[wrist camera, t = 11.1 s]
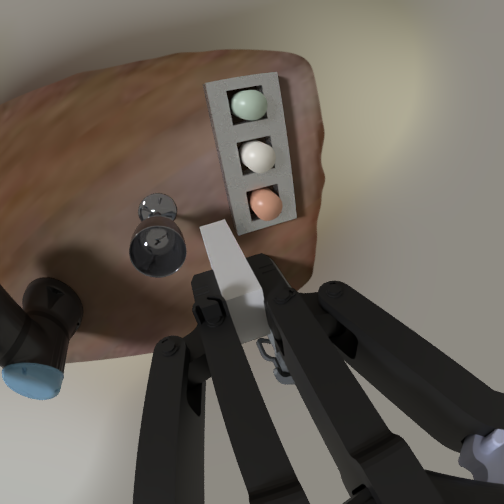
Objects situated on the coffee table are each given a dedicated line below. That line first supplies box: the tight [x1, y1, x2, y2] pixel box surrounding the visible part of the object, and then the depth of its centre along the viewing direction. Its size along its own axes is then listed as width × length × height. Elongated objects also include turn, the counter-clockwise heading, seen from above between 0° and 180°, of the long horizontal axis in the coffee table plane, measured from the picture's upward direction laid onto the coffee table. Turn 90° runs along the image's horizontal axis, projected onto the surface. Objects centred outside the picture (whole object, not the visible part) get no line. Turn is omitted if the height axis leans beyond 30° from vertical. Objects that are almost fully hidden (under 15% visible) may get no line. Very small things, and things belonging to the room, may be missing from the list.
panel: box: [203, 72, 297, 235], centre depth 48 cm, size 12×28×3 cm, turn 10°
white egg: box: [239, 139, 276, 173], centre depth 46 cm, size 5×5×5 cm
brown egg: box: [247, 187, 283, 221], centre depth 51 cm, size 5×5×5 cm
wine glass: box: [129, 193, 186, 278], centre depth 43 cm, size 8×8×15 cm
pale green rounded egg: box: [229, 90, 268, 120], centre depth 41 cm, size 5×5×5 cm
